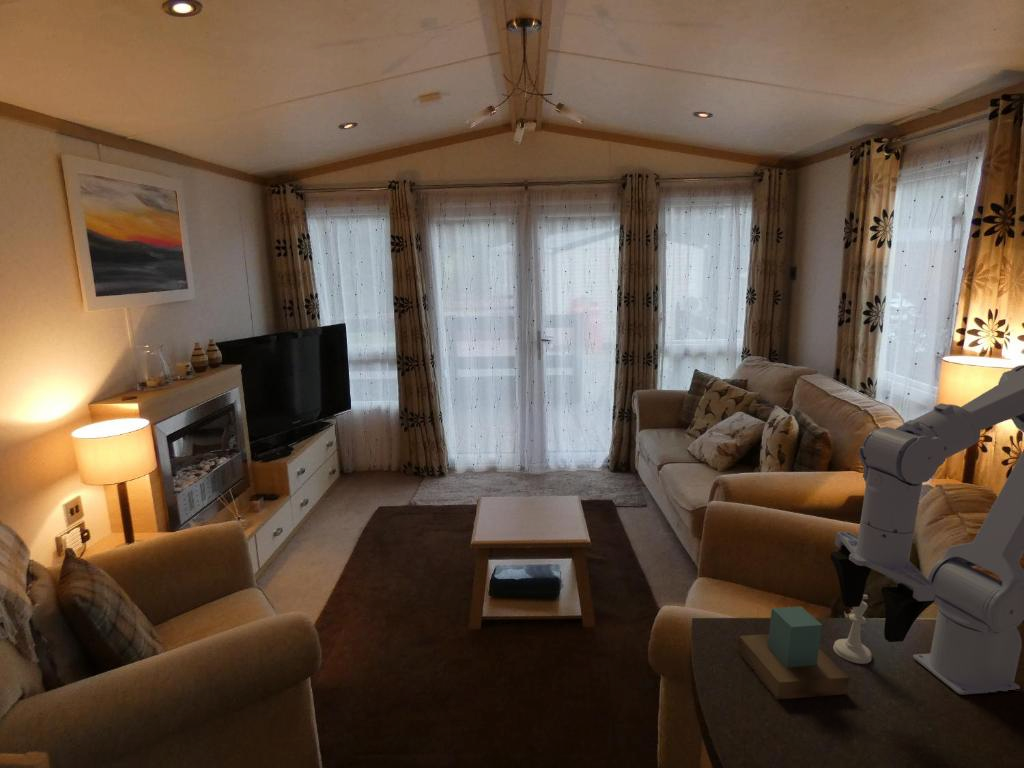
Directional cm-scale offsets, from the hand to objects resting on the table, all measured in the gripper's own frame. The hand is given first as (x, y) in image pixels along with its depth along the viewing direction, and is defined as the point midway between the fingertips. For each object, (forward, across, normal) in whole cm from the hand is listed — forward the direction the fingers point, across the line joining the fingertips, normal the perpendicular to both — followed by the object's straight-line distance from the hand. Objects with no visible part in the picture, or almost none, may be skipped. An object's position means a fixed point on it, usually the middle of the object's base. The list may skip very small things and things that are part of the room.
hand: (871, 622), depth 77 cm
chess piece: (+11, -8, +5) cm, 14 cm away
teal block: (+8, -5, -7) cm, 12 cm away
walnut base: (+10, -5, -7) cm, 13 cm away
